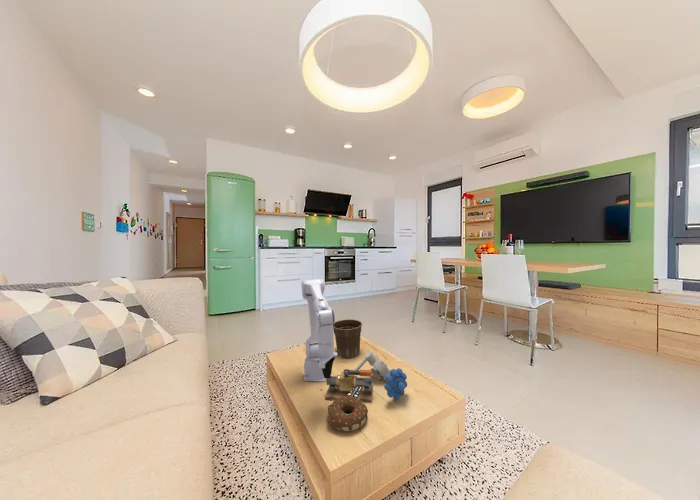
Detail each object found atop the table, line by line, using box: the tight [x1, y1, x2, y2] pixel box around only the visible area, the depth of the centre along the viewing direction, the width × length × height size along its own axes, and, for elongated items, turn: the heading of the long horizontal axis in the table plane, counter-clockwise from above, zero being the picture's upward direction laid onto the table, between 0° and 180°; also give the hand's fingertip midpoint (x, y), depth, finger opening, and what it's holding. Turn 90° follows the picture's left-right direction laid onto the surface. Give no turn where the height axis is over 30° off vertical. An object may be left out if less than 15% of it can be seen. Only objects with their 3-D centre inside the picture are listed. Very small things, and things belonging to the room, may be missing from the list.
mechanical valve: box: [354, 350, 392, 382], centre depth 109 cm, size 10×18×15 cm
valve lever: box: [343, 368, 373, 378], centre depth 100 cm, size 11×2×2 cm, turn 82°
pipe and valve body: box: [325, 371, 373, 394], centre depth 100 cm, size 18×5×6 cm, turn 82°
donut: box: [326, 396, 369, 432], centre depth 86 cm, size 14×14×5 cm
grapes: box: [383, 368, 408, 400], centre depth 95 cm, size 12×7×12 cm, turn 126°
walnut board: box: [324, 384, 374, 403], centre depth 100 cm, size 18×9×1 cm, turn 82°
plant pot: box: [333, 319, 363, 359], centre depth 136 cm, size 16×16×16 cm
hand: (327, 377), depth 94 cm, fingers closed
